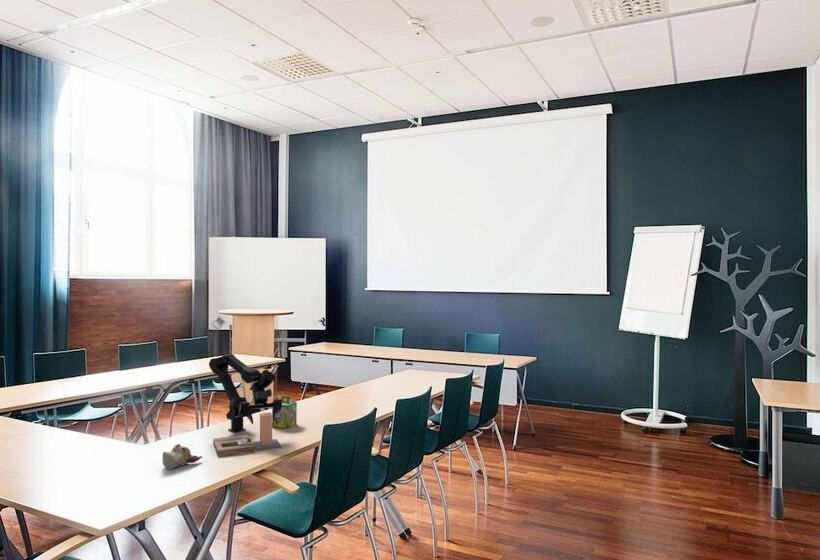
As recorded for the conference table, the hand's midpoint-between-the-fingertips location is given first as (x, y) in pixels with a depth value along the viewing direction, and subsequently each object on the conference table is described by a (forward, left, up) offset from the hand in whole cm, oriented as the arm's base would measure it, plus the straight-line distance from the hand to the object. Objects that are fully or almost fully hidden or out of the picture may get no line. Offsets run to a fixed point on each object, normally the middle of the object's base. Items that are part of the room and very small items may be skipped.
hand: (263, 422), depth 260 cm
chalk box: (-18, +22, -9) cm, 30 cm away
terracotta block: (+6, -2, -8) cm, 10 cm away
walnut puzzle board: (-1, -14, -9) cm, 16 cm away
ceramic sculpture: (+5, -40, -9) cm, 41 cm away
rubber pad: (+6, -2, -9) cm, 11 cm away
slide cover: (+3, -11, -6) cm, 13 cm away
